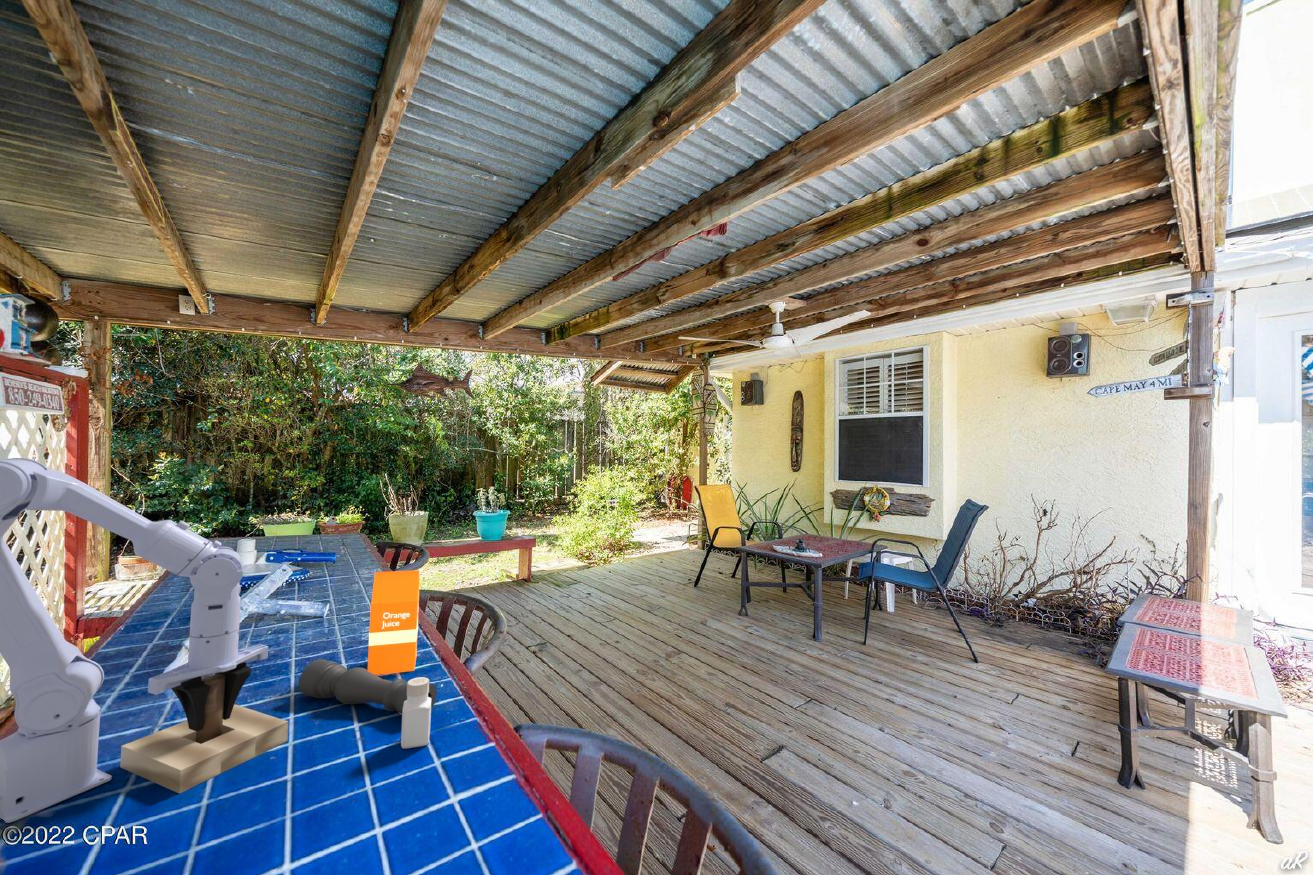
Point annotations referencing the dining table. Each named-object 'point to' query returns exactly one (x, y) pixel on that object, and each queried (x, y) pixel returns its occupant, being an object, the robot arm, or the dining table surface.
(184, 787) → the socket block
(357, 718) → the dining table surface
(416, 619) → the orange juice
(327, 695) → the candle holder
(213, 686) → the walnut peg
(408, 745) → the pepper shaker
